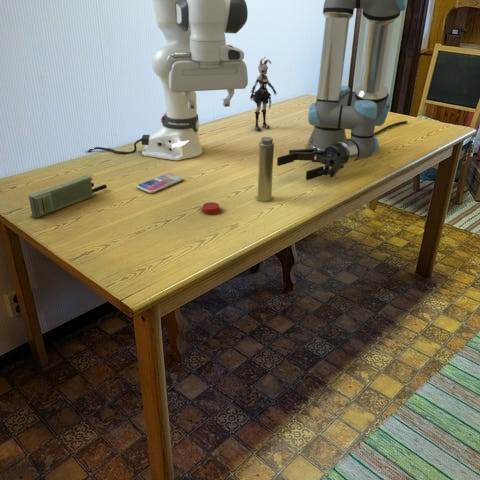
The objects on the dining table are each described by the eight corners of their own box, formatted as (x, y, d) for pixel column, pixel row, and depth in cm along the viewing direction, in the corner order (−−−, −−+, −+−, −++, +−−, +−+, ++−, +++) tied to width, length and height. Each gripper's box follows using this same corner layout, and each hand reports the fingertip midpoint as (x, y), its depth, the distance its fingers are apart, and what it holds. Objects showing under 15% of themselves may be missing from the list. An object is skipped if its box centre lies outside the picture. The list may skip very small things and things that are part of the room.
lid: (217, 215, 145) (217, 210, 145) (200, 213, 146) (200, 208, 145) (221, 208, 150) (221, 203, 149) (205, 206, 150) (204, 201, 150)
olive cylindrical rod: (255, 196, 157) (257, 136, 148) (268, 195, 158) (271, 135, 149) (260, 202, 153) (262, 141, 144) (273, 200, 155) (276, 140, 145)
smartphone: (184, 177, 167) (150, 191, 157) (184, 180, 167) (151, 194, 157) (168, 171, 171) (134, 185, 161) (168, 174, 171) (135, 188, 161)
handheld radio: (30, 215, 144) (102, 188, 161) (37, 219, 142) (109, 191, 159) (26, 193, 140) (100, 168, 157) (33, 197, 138) (107, 171, 155)
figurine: (253, 133, 212) (255, 58, 197) (243, 130, 216) (244, 56, 201) (277, 126, 221) (281, 54, 206) (267, 123, 224) (270, 52, 210)
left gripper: (168, 55, 121) (171, 112, 128) (250, 52, 126) (249, 108, 133) (164, 51, 126) (167, 106, 133) (243, 48, 131) (242, 102, 138)
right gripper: (367, 176, 161) (318, 193, 150) (313, 153, 178) (266, 167, 168) (370, 154, 157) (321, 170, 146) (315, 132, 174) (267, 145, 164)
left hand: (209, 107), depth 133 cm, fingers open, 8 cm apart
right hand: (291, 168), depth 157 cm, fingers open, 13 cm apart
